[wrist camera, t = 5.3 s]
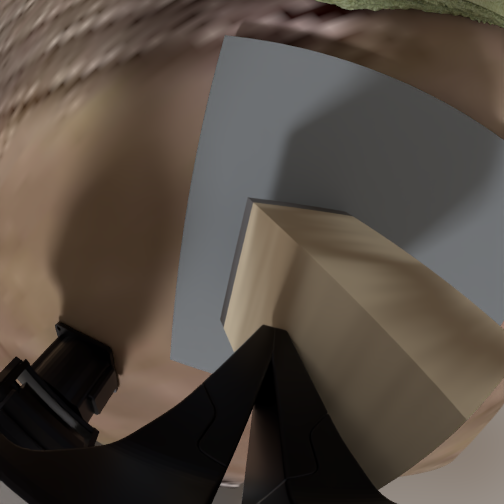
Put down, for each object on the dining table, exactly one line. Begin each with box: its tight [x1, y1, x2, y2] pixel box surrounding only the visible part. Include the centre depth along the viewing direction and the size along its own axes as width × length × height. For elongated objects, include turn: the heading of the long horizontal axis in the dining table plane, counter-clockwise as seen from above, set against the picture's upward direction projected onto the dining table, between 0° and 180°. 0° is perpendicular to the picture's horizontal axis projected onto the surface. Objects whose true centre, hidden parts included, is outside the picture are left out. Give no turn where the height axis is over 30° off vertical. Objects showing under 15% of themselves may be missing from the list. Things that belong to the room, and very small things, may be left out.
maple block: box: [220, 197, 504, 490], centre depth 9 cm, size 5×6×10 cm
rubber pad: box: [170, 35, 504, 373], centre depth 15 cm, size 22×20×1 cm
